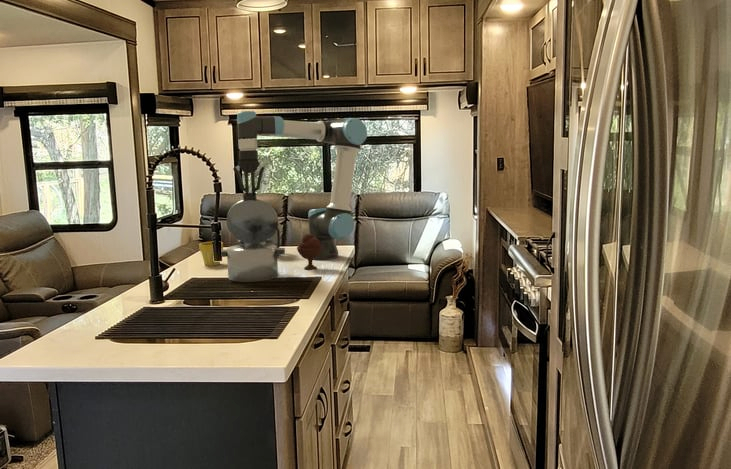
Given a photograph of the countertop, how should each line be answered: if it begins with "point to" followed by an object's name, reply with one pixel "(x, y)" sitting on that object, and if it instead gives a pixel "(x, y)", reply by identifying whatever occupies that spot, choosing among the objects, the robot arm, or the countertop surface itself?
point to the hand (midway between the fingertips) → (251, 207)
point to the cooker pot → (252, 262)
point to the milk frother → (275, 239)
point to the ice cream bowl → (309, 249)
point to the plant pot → (208, 253)
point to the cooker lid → (252, 220)
